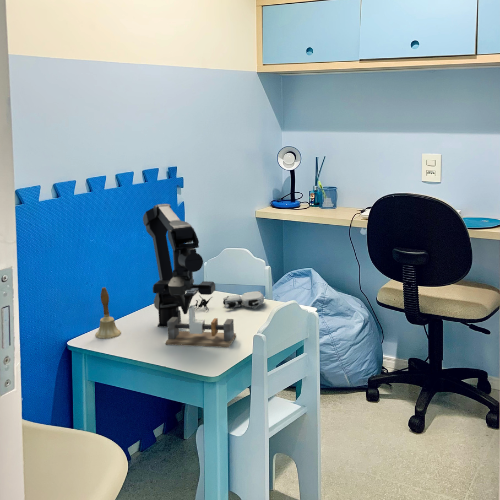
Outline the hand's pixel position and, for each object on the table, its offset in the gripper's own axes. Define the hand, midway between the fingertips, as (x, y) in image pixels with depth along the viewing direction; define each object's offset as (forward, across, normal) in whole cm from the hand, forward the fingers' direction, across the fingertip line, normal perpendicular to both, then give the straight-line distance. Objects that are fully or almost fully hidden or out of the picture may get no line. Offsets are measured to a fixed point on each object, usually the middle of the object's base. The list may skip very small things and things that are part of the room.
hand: (185, 313), depth 202 cm
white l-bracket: (+6, +4, 0) cm, 7 cm away
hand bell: (+9, -27, +2) cm, 29 cm away
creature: (+9, -4, +31) cm, 32 cm away
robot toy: (+9, +10, +37) cm, 40 cm away
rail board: (+9, +5, 0) cm, 10 cm away
